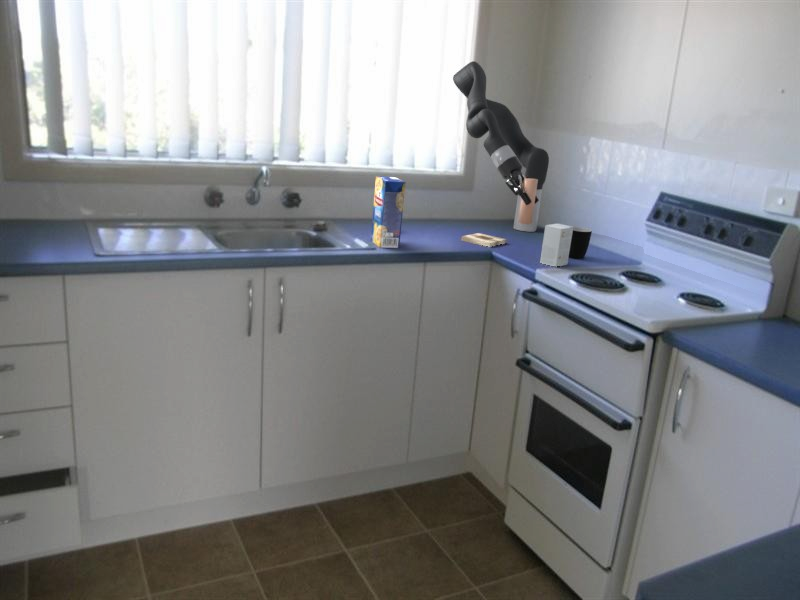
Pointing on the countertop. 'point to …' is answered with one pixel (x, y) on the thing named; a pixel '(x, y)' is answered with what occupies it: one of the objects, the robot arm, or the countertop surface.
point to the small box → (556, 244)
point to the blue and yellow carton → (387, 212)
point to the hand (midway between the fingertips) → (532, 202)
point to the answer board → (483, 239)
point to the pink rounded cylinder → (527, 210)
